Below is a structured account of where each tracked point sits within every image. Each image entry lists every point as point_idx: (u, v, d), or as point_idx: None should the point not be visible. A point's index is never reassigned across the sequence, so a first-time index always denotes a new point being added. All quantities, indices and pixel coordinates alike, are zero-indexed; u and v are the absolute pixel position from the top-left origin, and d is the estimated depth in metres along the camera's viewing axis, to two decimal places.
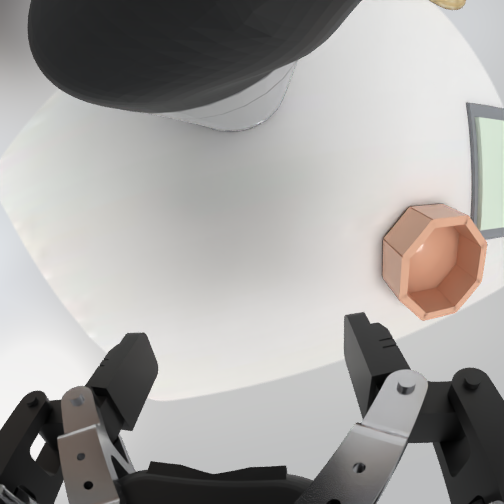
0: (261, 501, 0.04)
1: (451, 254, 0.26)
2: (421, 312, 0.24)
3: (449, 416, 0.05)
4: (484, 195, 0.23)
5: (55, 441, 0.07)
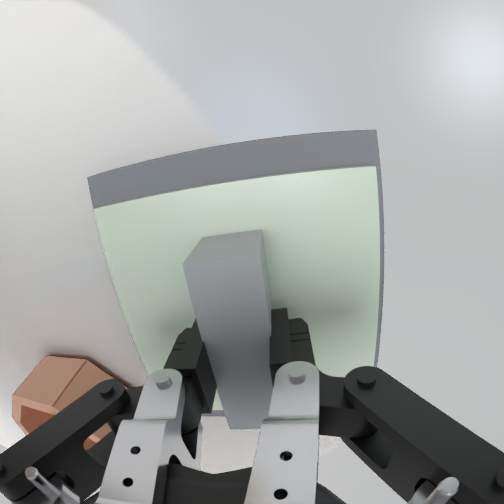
0: None
1: None
2: None
3: (341, 411, 0.07)
4: (147, 361, 0.14)
5: None
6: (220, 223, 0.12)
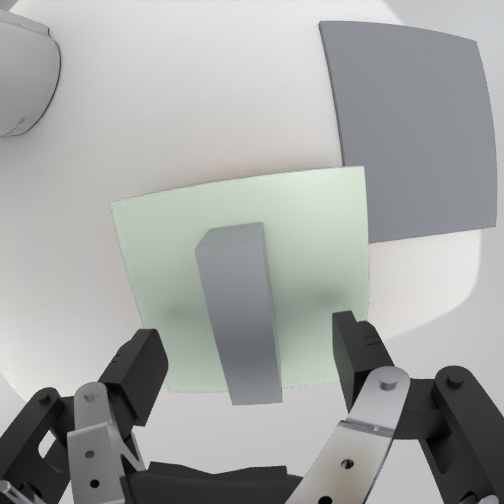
0: (261, 501, 0.04)
1: None
2: None
3: (432, 413, 0.06)
4: None
5: (65, 438, 0.07)
6: (226, 216, 0.13)
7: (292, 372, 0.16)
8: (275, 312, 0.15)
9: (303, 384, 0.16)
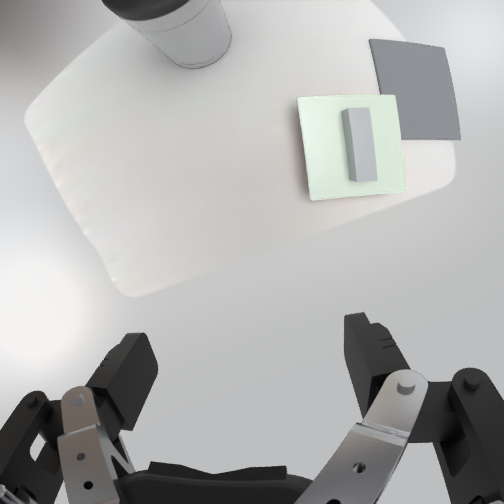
0: (261, 501, 0.04)
1: None
2: None
3: (449, 416, 0.05)
4: (309, 167, 0.32)
5: (55, 441, 0.07)
6: (347, 107, 0.30)
7: (373, 184, 0.32)
8: None
9: (378, 193, 0.33)
